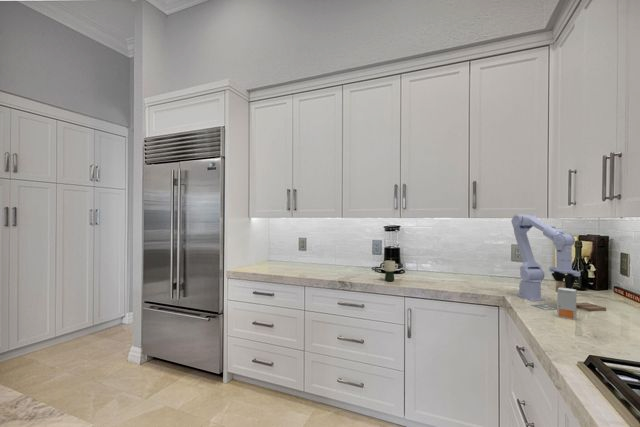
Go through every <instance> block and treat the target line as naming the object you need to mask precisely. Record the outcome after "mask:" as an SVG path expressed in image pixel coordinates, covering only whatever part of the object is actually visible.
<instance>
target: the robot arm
mask: <svg viewBox="0 0 640 427" xmlns="http://www.w3.org/2000/svg"><path fill="white" fill-rule="evenodd" d="M511 225H512V228H513V233H514V237H515V240H516V243H517V244H516V245H517V247H518V250H519V254H520V257H521V260H522V265H521V266H519V270H520V273H519V276H520V278H521V279H522V280H521V281H520V282H519V286H518V287H519V290H518V291H519V294H518V295H517V297H519V298H522V299H526V300H529V301H531V302H532V301H534V302H535V301H546V299H545V298H543V297H542V294H541V293H542V286H541V285H542V284H541V283H542V282H543V280H544V279H545V275H546V274H545V271H544V270H543V269H542V265H540V264H539V263H538V262H536V259H535V257H534V253H533V250H532V247H531V243H530V241H529V238H528V234H527V233H528V232H529V231H530V230H531V229H532V228H533V227H534V228H535V229H537V230H539V231H541V232H542V234H543V236H545V237H546V238H547V239H549V240H551V241H552V243H553V245H554V246H555V251H556V252H555V254H556V267H555V266H554V267H553V266H550V267H549V268H548V271H549V272H551V276H552V277H553V279H554V281H565V285H566V288H568V289H572V286H574V283H575V282H576V280H577V279H578V277H581V271H577V270H573V262H572V261H573V259H572V257H573V256H572V252H573V250H572V246H574V245H575V242H576V239H575V237H574V236H573V235H572V234H571V233H565V232H564V231H563V230H560V229H559V228H557V227H556V225H547V224H546V223H544V222H542V221H541V220H540V219H539V218H538V217H537V215H534V214H532V213H531V214H518V213H517V214H514V215H513V217H512V218H511Z"/></svg>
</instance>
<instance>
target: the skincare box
mask: <svg viewBox="0 0 640 427" xmlns="http://www.w3.org/2000/svg"><path fill="white" fill-rule="evenodd" d="M577 294H578V293H577V289H574V288H573V289H568V288H558V292H557V295H556V296H557V298H556V299H557V300H556V301H557V306H556V307H557V310H556V311H557V314H556V315H557V316H556V317H557V318H563V319H567V320H568V319H569V320H576V319H577V308H576V303H577Z"/></svg>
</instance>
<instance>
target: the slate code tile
mask: <svg viewBox="0 0 640 427" xmlns="http://www.w3.org/2000/svg"><path fill="white" fill-rule="evenodd" d="M530 306H531V307H535V308H537V309H540V310H543V311H557V306H554V305H550V304H547V303H546V304H530Z"/></svg>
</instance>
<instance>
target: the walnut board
mask: <svg viewBox="0 0 640 427" xmlns="http://www.w3.org/2000/svg"><path fill="white" fill-rule="evenodd" d="M576 309H579V310H583V311H586V312H591V313H592V312H606V311H607V307H605V306H601V305H598V304H593V303H590V302H576Z"/></svg>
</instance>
